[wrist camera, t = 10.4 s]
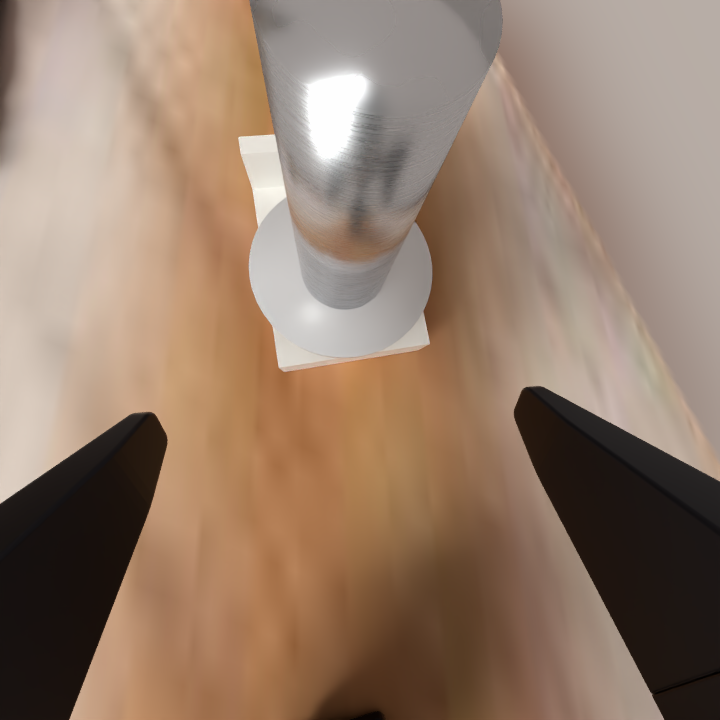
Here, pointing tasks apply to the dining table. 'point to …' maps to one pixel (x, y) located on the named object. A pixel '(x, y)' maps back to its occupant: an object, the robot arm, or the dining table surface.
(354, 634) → the dining table surface
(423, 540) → the dining table surface
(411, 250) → the scale
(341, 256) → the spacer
